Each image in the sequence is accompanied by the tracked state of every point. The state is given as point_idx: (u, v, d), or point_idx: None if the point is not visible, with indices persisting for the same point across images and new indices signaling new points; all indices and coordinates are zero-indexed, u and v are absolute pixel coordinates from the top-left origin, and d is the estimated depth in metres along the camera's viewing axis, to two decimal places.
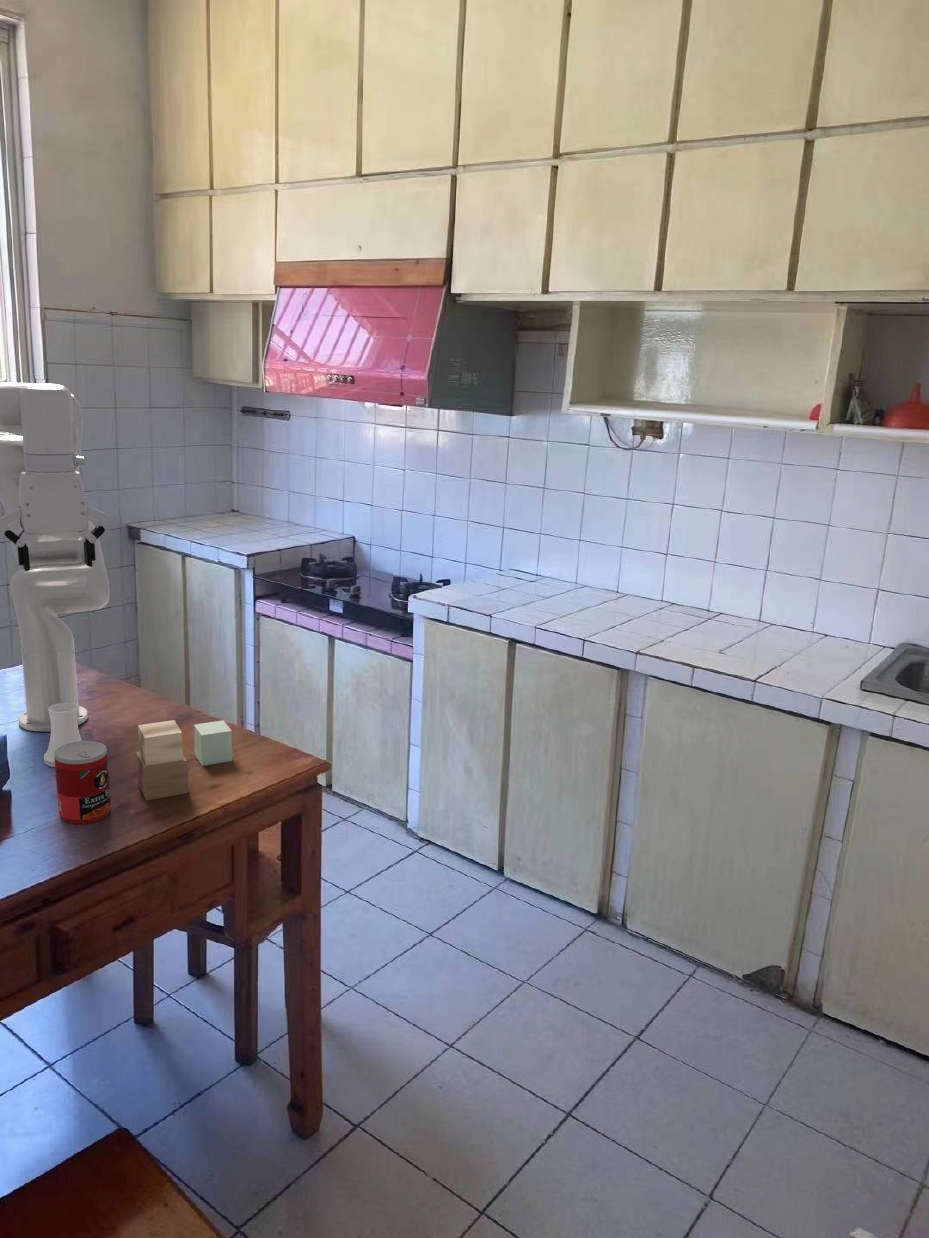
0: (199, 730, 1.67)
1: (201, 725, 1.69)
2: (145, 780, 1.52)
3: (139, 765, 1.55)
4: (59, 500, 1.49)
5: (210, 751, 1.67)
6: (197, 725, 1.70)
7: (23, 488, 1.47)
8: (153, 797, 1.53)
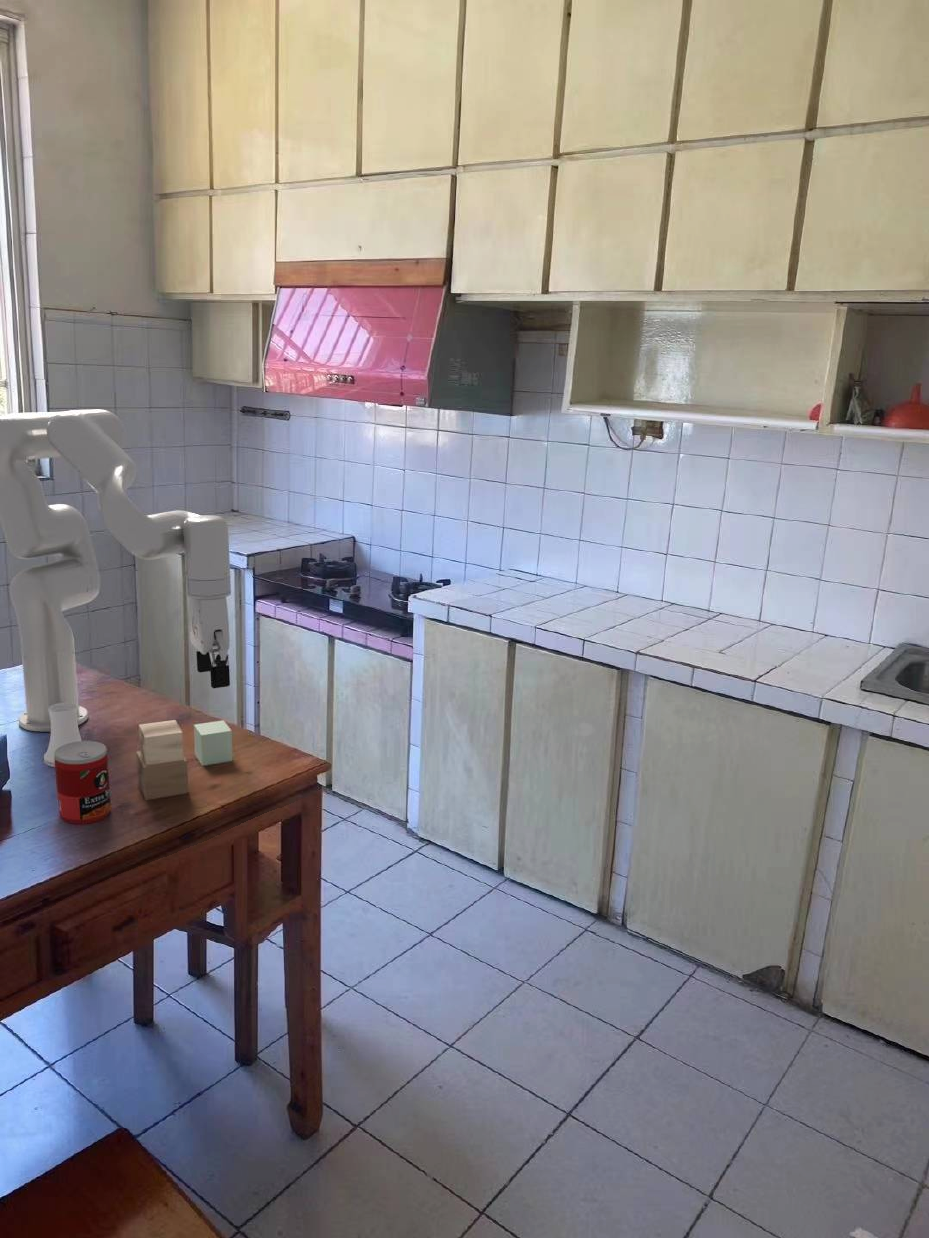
0: (199, 730, 1.67)
1: (201, 725, 1.69)
2: (145, 780, 1.52)
3: (139, 765, 1.55)
4: None
5: (210, 751, 1.67)
6: (197, 725, 1.70)
7: (226, 610, 1.60)
8: (153, 797, 1.53)
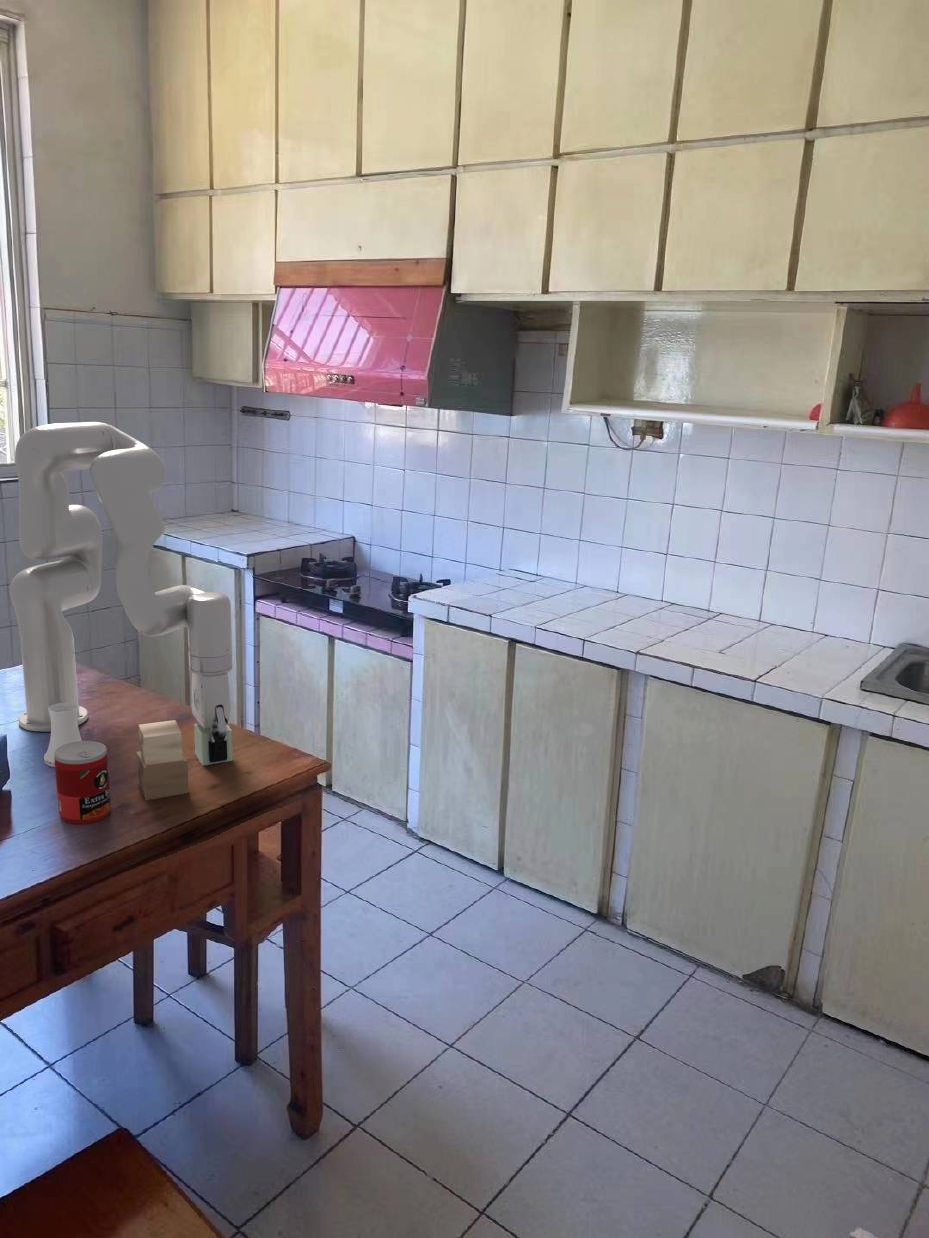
0: (199, 730, 1.67)
1: None
2: (145, 780, 1.52)
3: (139, 765, 1.55)
4: None
5: None
6: (197, 724, 1.70)
7: (227, 686, 1.63)
8: (153, 797, 1.53)
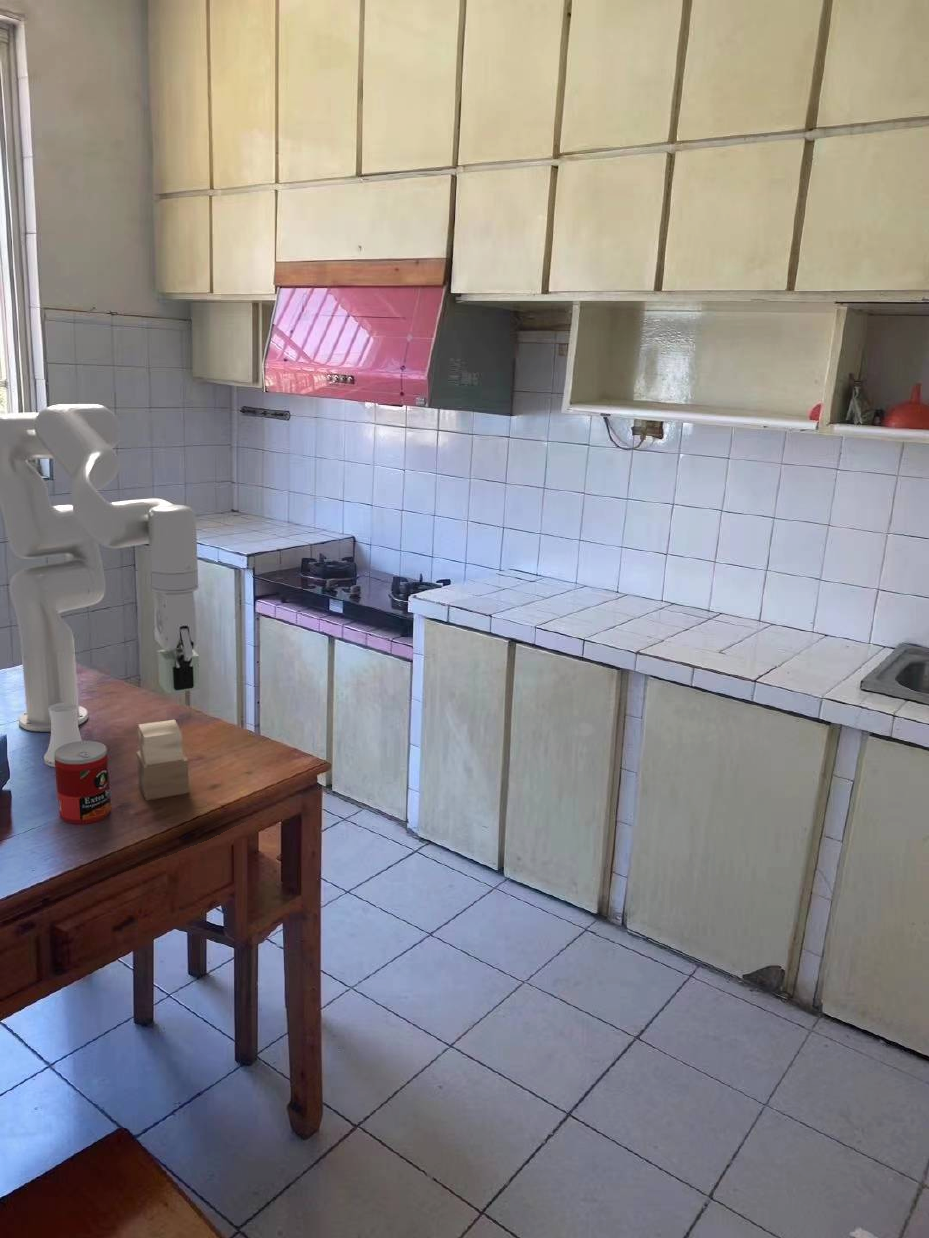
0: (163, 655, 1.55)
1: (165, 651, 1.57)
2: (145, 780, 1.52)
3: (140, 765, 1.55)
4: None
5: None
6: (161, 651, 1.57)
7: (192, 606, 1.51)
8: (153, 797, 1.53)
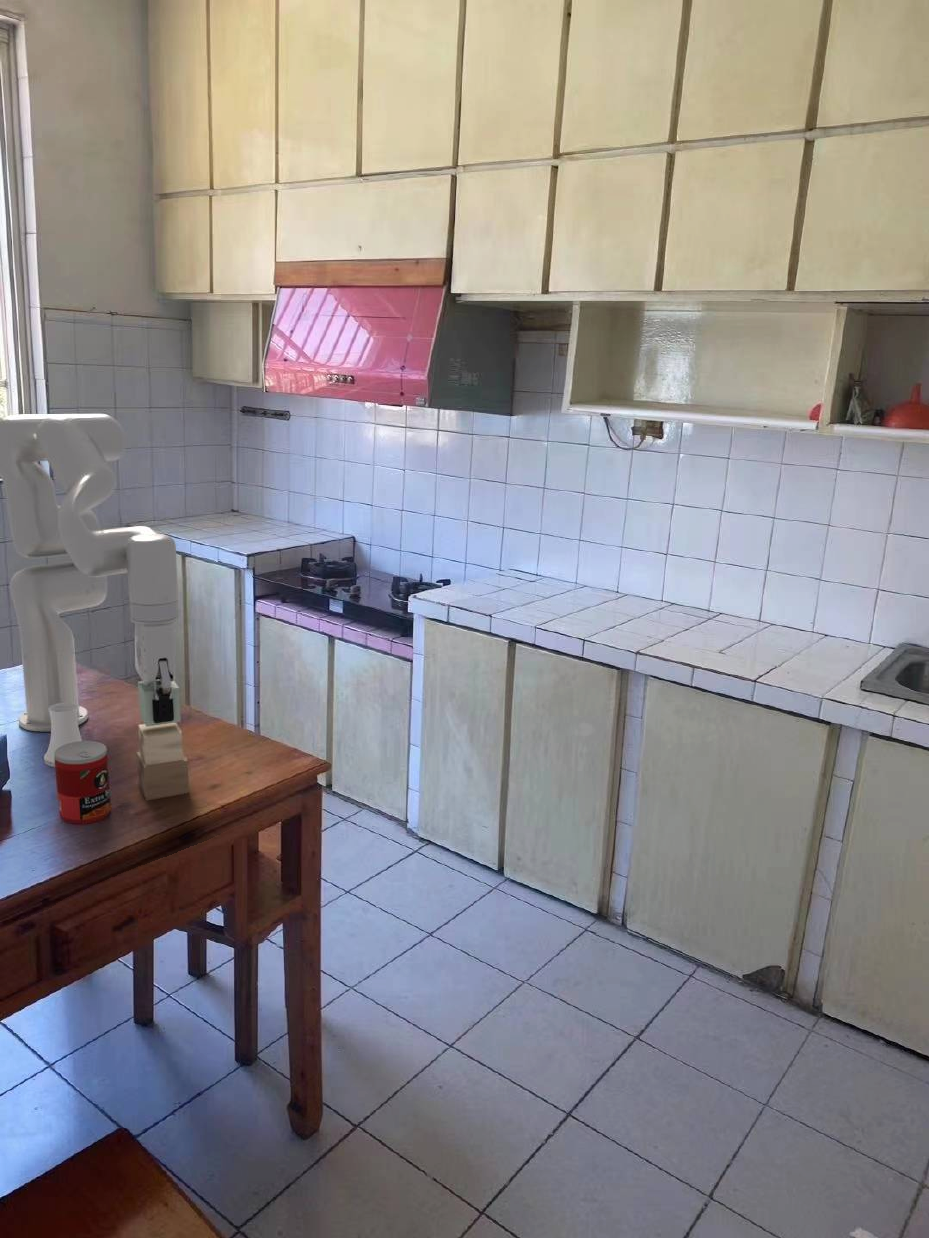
0: (143, 687, 1.51)
1: None
2: (145, 780, 1.52)
3: (139, 765, 1.55)
4: None
5: None
6: (142, 682, 1.53)
7: (172, 637, 1.47)
8: (153, 797, 1.53)
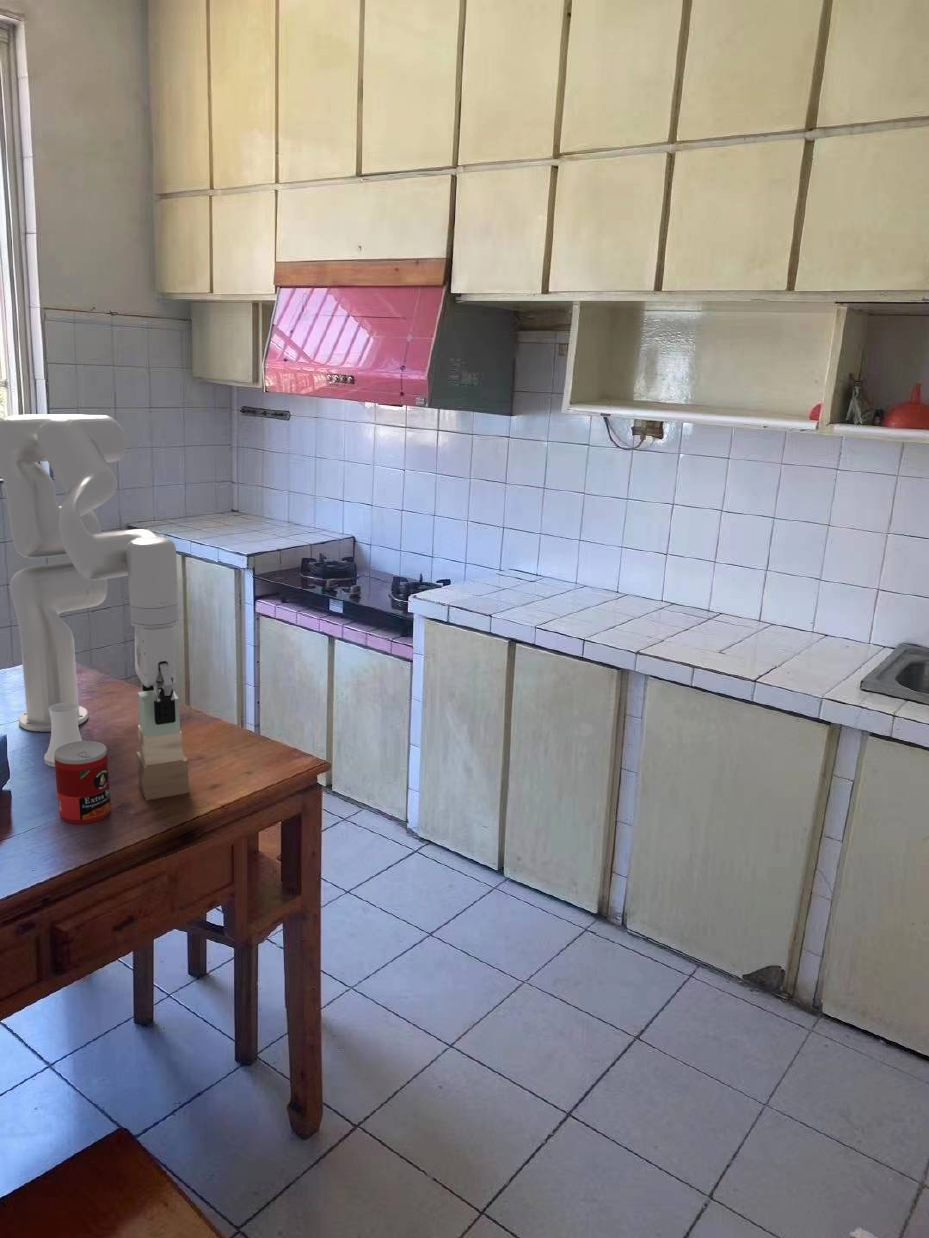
0: (143, 698, 1.51)
1: (146, 693, 1.54)
2: (145, 780, 1.52)
3: (139, 765, 1.55)
4: None
5: (154, 721, 1.51)
6: (141, 692, 1.54)
7: (172, 641, 1.47)
8: (153, 797, 1.53)
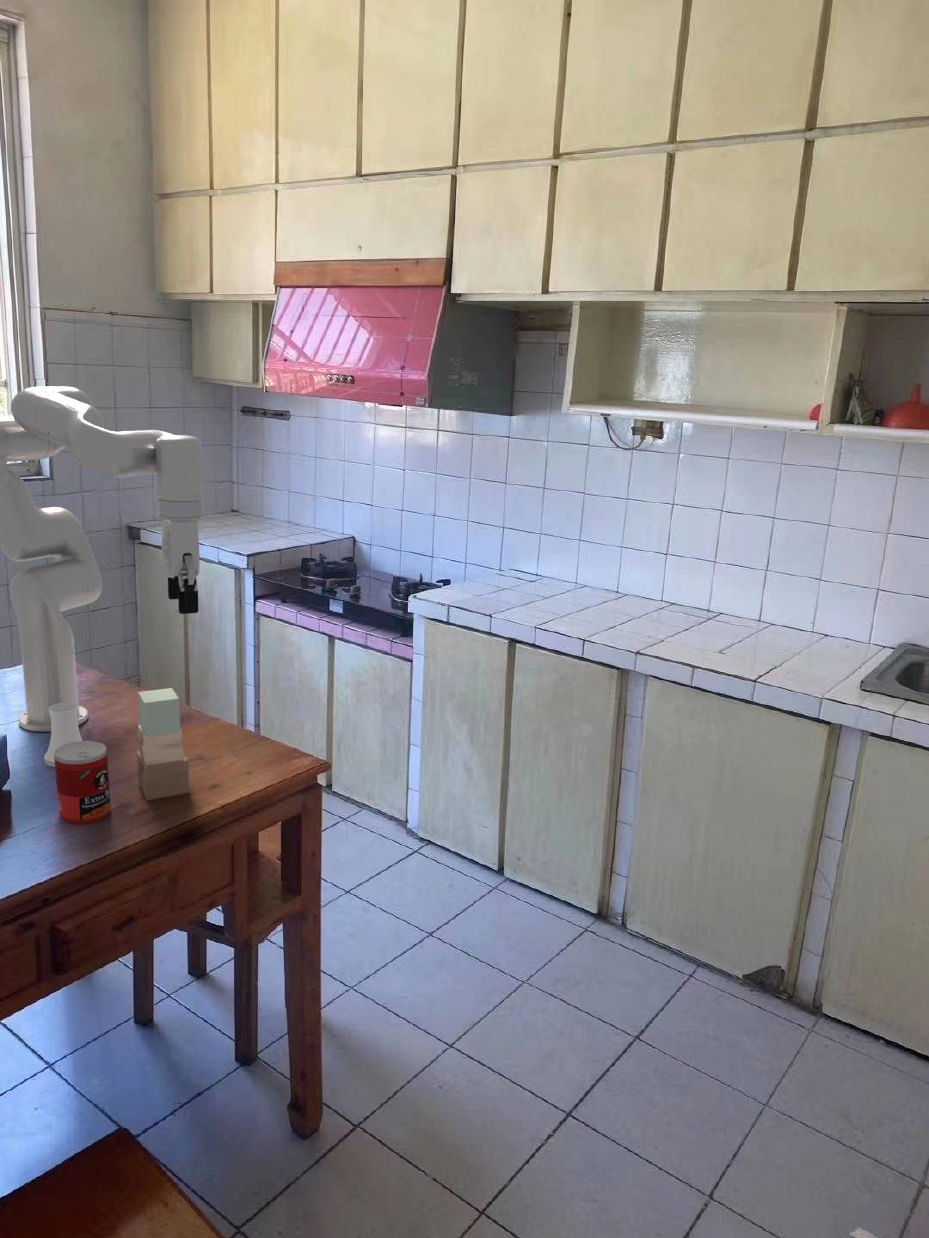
0: (143, 698, 1.51)
1: (146, 692, 1.54)
2: (146, 780, 1.52)
3: (140, 765, 1.55)
4: None
5: (155, 721, 1.51)
6: (142, 692, 1.54)
7: (196, 534, 1.55)
8: (154, 797, 1.53)
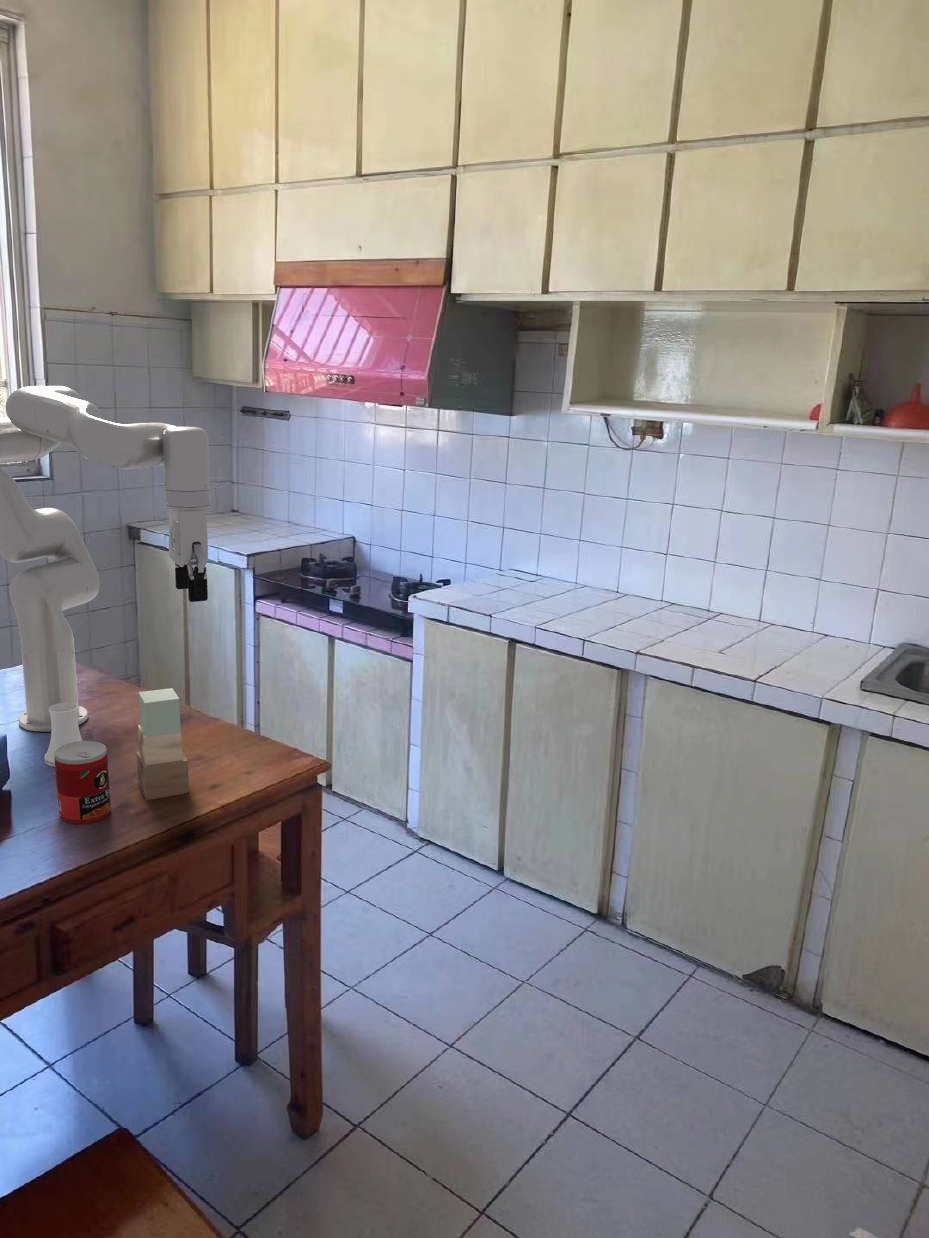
0: (143, 698, 1.51)
1: (146, 693, 1.54)
2: (145, 780, 1.52)
3: (139, 765, 1.55)
4: None
5: (155, 721, 1.51)
6: (142, 692, 1.54)
7: (204, 523, 1.58)
8: (153, 797, 1.53)
